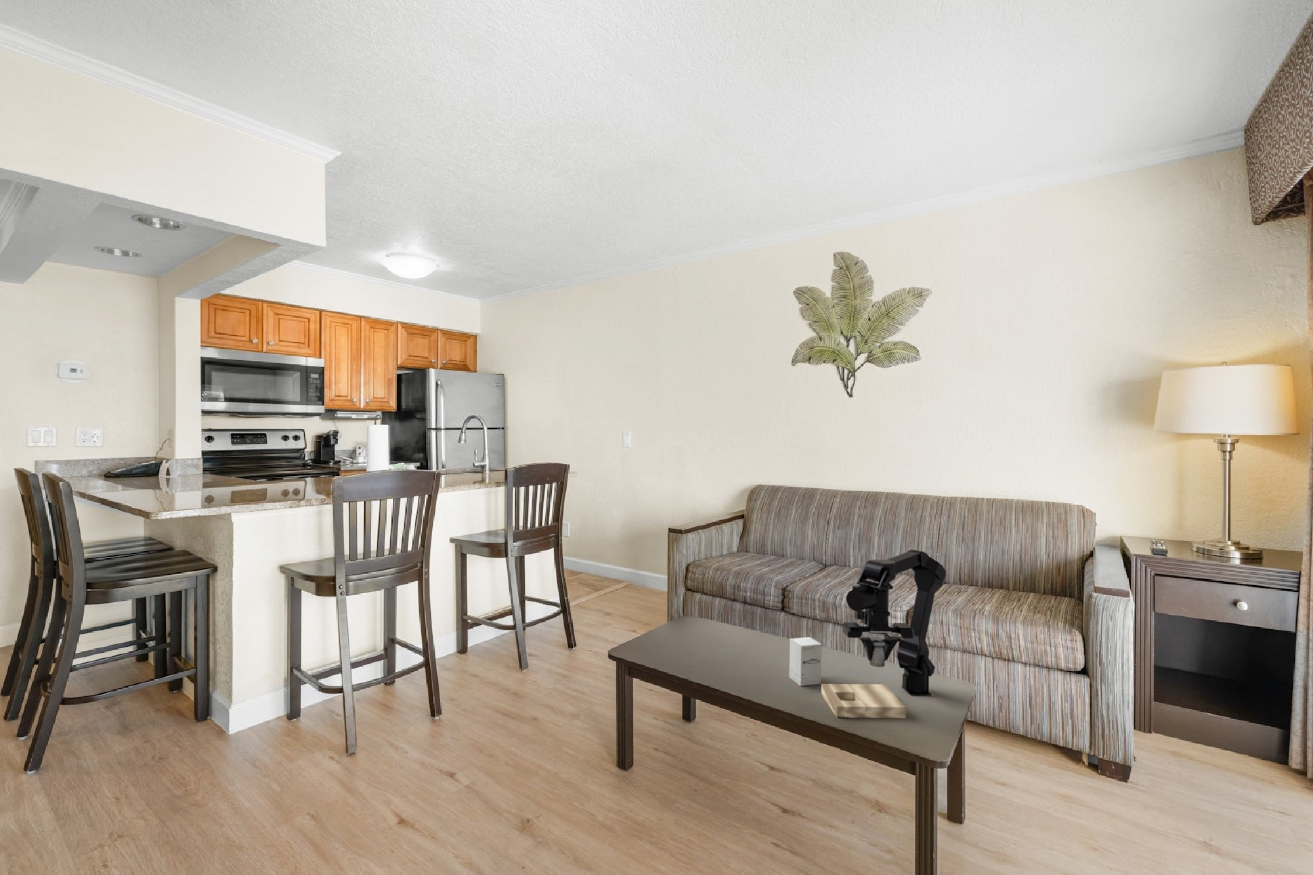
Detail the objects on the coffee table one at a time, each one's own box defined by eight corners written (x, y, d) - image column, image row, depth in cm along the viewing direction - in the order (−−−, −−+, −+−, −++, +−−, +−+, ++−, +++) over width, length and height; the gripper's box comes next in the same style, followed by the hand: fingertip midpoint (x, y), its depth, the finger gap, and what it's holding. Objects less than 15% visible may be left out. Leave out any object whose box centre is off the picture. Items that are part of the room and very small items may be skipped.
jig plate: (884, 694, 178) (884, 684, 178) (906, 718, 163) (906, 707, 163) (821, 693, 178) (821, 683, 178) (836, 717, 163) (836, 706, 163)
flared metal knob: (882, 661, 173) (883, 637, 173) (889, 668, 168) (890, 643, 168) (864, 660, 173) (865, 636, 173) (871, 667, 168) (871, 643, 168)
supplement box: (800, 686, 183) (800, 645, 183) (788, 677, 190) (789, 637, 190) (821, 684, 185) (822, 643, 185) (809, 675, 192) (809, 636, 192)
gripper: (898, 598, 179) (898, 650, 178) (836, 597, 178) (836, 649, 178) (915, 609, 167) (914, 664, 167) (848, 608, 167) (848, 663, 167)
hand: (877, 660), depth 170 cm, fingers closed on flared metal knob, 4 cm apart
